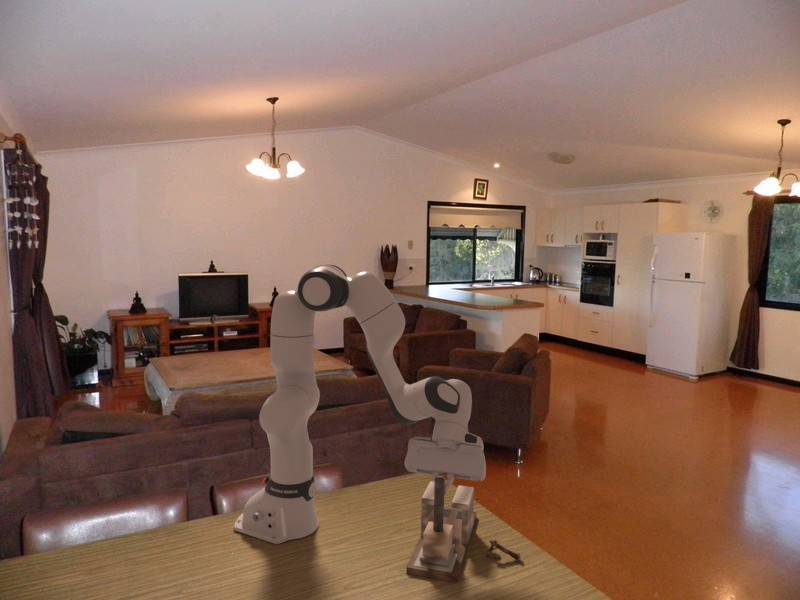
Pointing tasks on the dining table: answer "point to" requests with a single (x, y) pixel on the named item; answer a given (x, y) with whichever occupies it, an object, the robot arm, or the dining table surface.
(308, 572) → the dining table surface
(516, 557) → the toy flintlock pistol
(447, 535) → the rod on wooden block
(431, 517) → the tunnel track
